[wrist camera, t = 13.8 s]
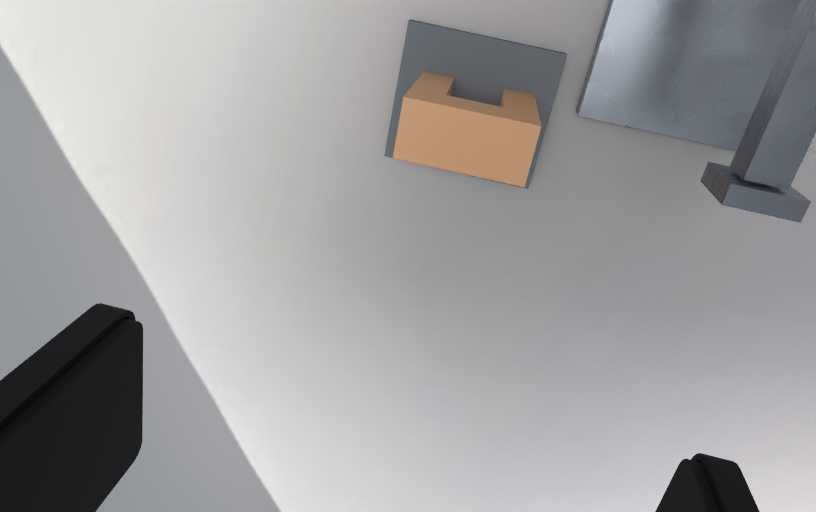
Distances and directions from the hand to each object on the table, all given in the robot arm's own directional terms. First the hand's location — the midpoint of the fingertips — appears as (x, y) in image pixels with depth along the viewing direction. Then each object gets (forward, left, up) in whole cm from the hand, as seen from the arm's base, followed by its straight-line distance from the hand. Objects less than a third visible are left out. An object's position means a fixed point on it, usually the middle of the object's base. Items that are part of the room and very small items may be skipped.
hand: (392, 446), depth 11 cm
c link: (0, 0, -29) cm, 29 cm away
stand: (-11, -7, -30) cm, 32 cm away
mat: (0, 0, -30) cm, 30 cm away
